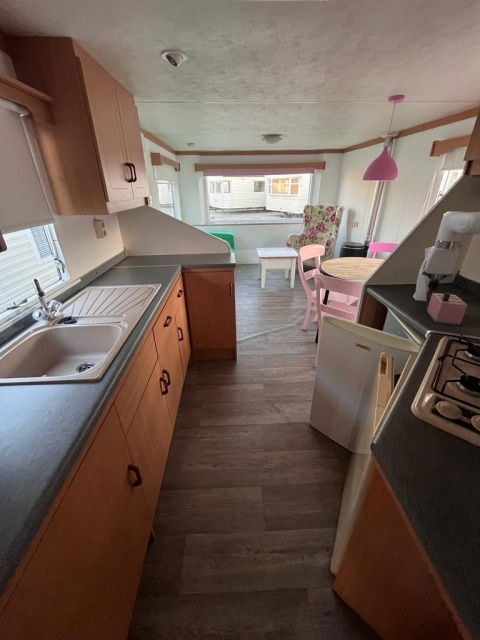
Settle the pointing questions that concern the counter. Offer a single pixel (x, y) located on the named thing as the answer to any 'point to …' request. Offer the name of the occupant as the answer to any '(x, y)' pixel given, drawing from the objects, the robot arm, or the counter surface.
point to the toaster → (446, 309)
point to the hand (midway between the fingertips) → (431, 289)
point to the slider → (446, 297)
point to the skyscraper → (422, 283)
